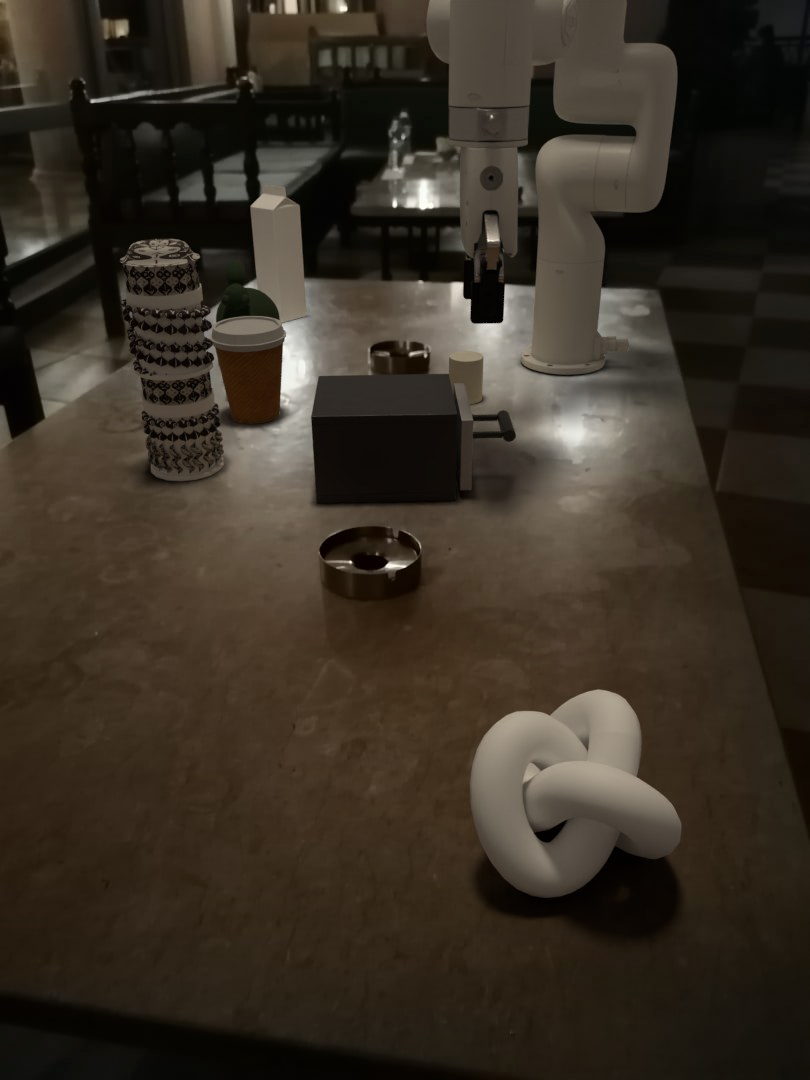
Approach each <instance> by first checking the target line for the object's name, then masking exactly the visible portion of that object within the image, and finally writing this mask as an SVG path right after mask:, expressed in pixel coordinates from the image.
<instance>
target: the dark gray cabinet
mask: <svg viewBox="0 0 810 1080" xmlns="http://www.w3.org/2000/svg"><path fill="white" fill-rule="evenodd" d="M316 383H317V384H316V389H315V393H314V400H313V404H312V405H313V406H312V411H311V415H310V419H311V420H310V421H311V437H312V452H313V453H312V454H313V468H314V485H315V499H316V500H315V501H316V504H340V503H342V504H345V503H347V504H349V503H389V502H390V503H392V502H395V503H396V502H446V501H448V502H449V501H450V502H451V501H453V502H454V501H456V498H457V470H456V455H457V411H456V406H455V401H454V396H453V391H452V387H451V382H450V377H449V373H415V374H414V373H413V374H412V373H410V374H407V373H406V374H358V375H357V374H355V375H354V374H353V375H352V374H351V375H347V374H346V375H318V378H317V382H316Z"/></svg>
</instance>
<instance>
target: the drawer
mask: <svg viewBox="0 0 810 1080" xmlns="http://www.w3.org/2000/svg"><path fill="white" fill-rule="evenodd" d="M453 396H454V401H455V406H456V411H457V455H456V476H457V481H458V486H459V490H460V491H472V483H473V482H472V479H473V477H472V476H473V445H474V444H473V441H474V439H503V440H504V441H505V442H506V443H512V442H514V441H515V440H516V438H517V433H516V430H515V427H514V425H513V422H512V419H511V416H510V414H509V411H507V410H505V409H503V410H499V411H498V412H497V413H493V414H491V413H490V414H472V410H471V406H470V405H471V404H469V401H468V397H467V393H466V389H465V385H464V383H454V392H453ZM474 422H497V423H498V426H499V429H500V430H494V431H493V430H490V431H488V430H487V431H483V430H482V431H474Z"/></svg>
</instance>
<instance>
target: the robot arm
mask: <svg viewBox="0 0 810 1080" xmlns="http://www.w3.org/2000/svg"><path fill="white" fill-rule="evenodd" d="M627 7H628V0H429V1H428V5H427V11H426V36H427V40H428V45H429V46H430V49H431V51H432V52H433V54H434V55H435V57H436V58H438V59H439V60H440V61H441V62H443V63H445V64H448V113H447V114H448V120H447V121H448V122H447V124H448V126H447V138H448V139H447V145H448V146H449V147H451V146H452V147H456V148H459V149H460V151H459V158H460V159H459V224H460V236H461V237H460V238H461V243H462V247H463V249H464V251H465V259H463V274H462V275H463V280H462V297H463V299H465V300H470V313H469V314H470V315H469V316H470V317H469V319H470V323H472V324H473V325H475V324H476V325H477V324H479V325H480V324H482V325H484V324H488V325H489V324H490V325H491V324H492V325H493V324H502V323H503V322H504V313H505V293H506V292H505V291H506V281H505V267H504V266H505V265H504V264H505V263H504V253H505V254H507V256H508V258H514V257H515V256H516V255H517V254H518V225H519V224H518V222H519V221H518V220H519V219H518V217H519V216H518V215H519V156H518V155H519V154H518V153H519V152H518V148H520V147H525V146H528V144H529V142H528V141H529V121H530V105H531V88H532V87H531V84H532V69H533V67H534V66H546V65H549V64H552V63H554V73H553V74H554V75H553V87H552V90H553V91H552V97H553V100H552V101H553V109H554V111H555V113H556V115H557V116H558V118H560V120H563V121H566V122H569V123H575V124H586V125H587V124H588V125H589V124H590V125H627V126H631V127H633V129H634V130H635V135H634V136H632V135H631V136H630V135H629V136H627V135H607V134H565V135H560V136H556V137H554V138H552V139H549V140H547V142H545V143H544V144H543V145H542V146H541V148H540V150H539V151H538V154H537V156H536V161H535V170H534V171H535V173H534V174H535V186H536V196H537V197H536V198H537V213H538V215H537V216H538V231H537V232H538V233H537V236H538V237H537V252H536V267H535V268H536V269H535V270H536V271H535V286H534V287H535V288H534V303H533V304H534V305H533V320H532V321H533V322H532V336H531V346H529V347H527V348H525V349H523V350H522V352H521V354H520V362H521V364H522V365H523V366H524V367H526V368H528V369H531V370H533V371H535V372H539V373H545V374H551V375H560V376H563V375H565V376H570V375H573V376H574V375H583V374H584V375H585V374H590V373H593V372H596V371H599V370H601V369H602V368H603V367H604V366H605V364H606V356H605V355H607V354H608V353H609V352H610V353H611V352H614V353H628V352H629V348H630V347H629V345H630V343H629V339H628V338H617V336H602V335H601V334H600V332H599V331H598V330H599V319H600V318H599V317H600V308H601V307H600V306H601V299H602V298H601V297H602V286H603V275H604V266H605V255H606V242H605V237H604V235H603V231H602V230H601V228H600V227H599V225H598V223H597V222H596V220H595V218H594V217H593V215H592V213H591V212H614V213H647V212H650V211H652V210H654V209H655V208H656V207H657V206H658V204H659V203H660V201H661V199H662V196H663V193H664V190H665V186H666V179H667V172H668V166H669V165H668V164H669V156H670V147H671V141H672V140H671V139H672V132H673V131H672V130H673V124H674V117H675V110H676V109H675V108H676V100H677V90H678V64H677V59H676V56H675V54H674V52H673V51H672V49H671V48H670V47H669V46H666V45H664V44H662V43H655V42H625V39H624V37H625V35H624V34H625V25H626V24H625V23H626V15H627Z"/></svg>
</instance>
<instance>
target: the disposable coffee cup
mask: <svg viewBox="0 0 810 1080" xmlns="http://www.w3.org/2000/svg"><path fill="white" fill-rule="evenodd" d="M211 329H212V330H211V334H210V335H209V339H210V340H211V341H212V342H213V347H214V349H215V353H216V357H217V362H218V366H219V370H220V374H221V377H222V382H223V386H224V390H225V395H226V399H227V403H228V407H229V411H230V415H231V419H232V421H233V420H234V421H235V422H237V423H241V424H251V425H254V424H263V423H268V422H271V421H274V420H275V419H277V418H279V416H280V414H281V395H282V393H281V391H282V376H283V375H282V373H283V354H284V353H283V351H284V343H285V340H286V337H287V331H286V330H285V329H284V327H283V323H281V321H279V320H277V319H275V318H271V317H263V316H242V317H234V318H229V319H225V320H222V321H219V322H217V323H216V322H215V323H214V324H212V328H211Z"/></svg>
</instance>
